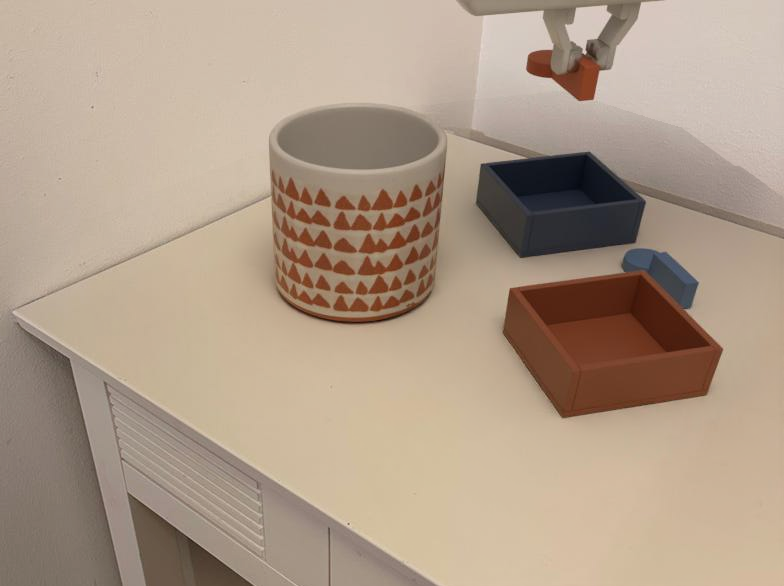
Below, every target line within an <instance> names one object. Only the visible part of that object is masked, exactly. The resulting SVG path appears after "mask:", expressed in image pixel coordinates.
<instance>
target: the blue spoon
mask: <svg viewBox="0 0 784 586" xmlns="http://www.w3.org/2000/svg"><path fill="white" fill-rule="evenodd" d="M621 267H622V270H623V271H624V273H625V272H633V271H641V270H645V271H646V272H647V273H648V274H649V275H650V276H651V277H652V278H653V279H654V280H655V281H656V282H657V283H658V284H659V285H660V286H661V287H662V288H663V289H664V290H665V291H666V292H667V293H668V294H669V295H670V296H671V297H672V298H673V299H674V300H675V301H676V302H677V303H678V304H679V305H680V306H681V307H682V308H683V309H684V310H686V309H691V308H692V306H693V302H694V299H695V297H696V292H697V290H698V287H699V284H700V281H698V280H697V279H696V278H695V277H694V276H693V275H692V274H691V273H690V272H689V271H688V270H687V269H686V268H684V266H682V265H681V264H680V263H679V262H678V261H677V260H676V259H675V258H673V256H671V255H670V254H669V253H668V252H667V251H661V252H660V251H657V250H655V249H652V248H645V247H641V248H640V247H639V248H633V249H632V248H631V249H629V250H627V251H626V252H625V254H624V256H623V259H622V263H621Z"/></svg>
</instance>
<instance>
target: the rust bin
mask: <svg viewBox="0 0 784 586" xmlns="http://www.w3.org/2000/svg"><path fill="white" fill-rule="evenodd" d="M502 333H503V334H504V336H505V338H506V339H507V340H508V342H509V344H510V345H511V346H512V347H513V349H514V351H515V352H516V353H517V354H518V356H519V357H520V359H521V360H522V362H523V364H524V366H526V368H527V369H528V370H529V372H530V373H531V375H532V376H533V377H534V379H535V380H536V382H537V383H538V385H539V386H540V388H541V389H542V391H543V392H544V393H545V394H546V396H547V398H548V399H549V401H550V402H551V404H552V405H553V406H554V408H555V409H556V411H557V412H558V413H559V415H560V416H561V418H563V419H564V418H570V417H576V416H581V415H582V416H583V415H589V414H596V413H601V412H607V411H613V410H621V409H626V408H632V407H639V406H645V405H651V404H652V405H653V404H657V403H664V402H670V401H676V400H677V401H678V400H683V399H689V398H694V397H701V396H707V395H708V393H709V389H710V387H711V384H712V381H713V379H714V377H715V373H716V371H717V368H718V365H719V363H720V360H721V356H722V354H723V352H724V348H723V347H722V346H721V345H720V343H718V342H717V341H716V340H715V339H714V337H712V335H710V334H709V333H708V332H707V331H706V330H705V329H704V328H703V327H702V326H701V325H700V324H699V322H697V321H696V320H695V318H693V317H692V316H691V315H690V314H689V313H688V312H687V311H686V309H683V308H682V307H681V306H680V305H679V304H678V303H677V302H676V301H675V300H674V299H673V298H672V297H671V296H670V295H669V294H668V293H667V292H666V291H665V290H664V289H663V288H662V287H661V286H660V285H659V284H658V283H657V282H656V281H655V280H654V279H653V278H652V277H651V276H650V275H649V274H648V273H647V272H646V271H645V270H641V271H633V272H625V271H624V272H618V273H612V274H604V275H596V276H589V277H581V278H574V279H566V280H558V281H551V282H544V283H537V284H530V285H523V286H516V287H510V288H509V291H508V298H507V304H506V310H505V317H504V322H503V328H502Z"/></svg>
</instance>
